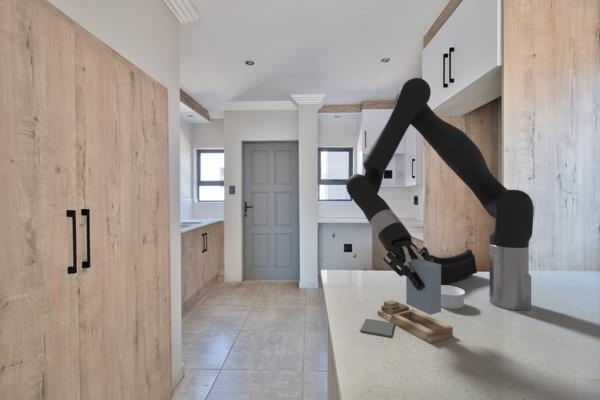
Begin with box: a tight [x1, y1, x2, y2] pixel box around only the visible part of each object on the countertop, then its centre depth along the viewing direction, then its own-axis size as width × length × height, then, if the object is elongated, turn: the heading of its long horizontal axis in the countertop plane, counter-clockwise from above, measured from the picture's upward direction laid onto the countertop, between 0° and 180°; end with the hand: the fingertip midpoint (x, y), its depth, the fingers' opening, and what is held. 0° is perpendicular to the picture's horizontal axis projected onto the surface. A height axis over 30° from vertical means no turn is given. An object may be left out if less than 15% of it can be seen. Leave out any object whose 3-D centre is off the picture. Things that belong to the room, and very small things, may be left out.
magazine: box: [429, 248, 478, 285], centre depth 107 cm, size 17×3×30 cm
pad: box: [359, 318, 395, 338], centre depth 71 cm, size 7×7×1 cm
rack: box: [377, 299, 454, 344], centre depth 72 cm, size 17×7×4 cm, turn 26°
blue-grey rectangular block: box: [405, 259, 442, 316], centre depth 69 cm, size 7×4×11 cm, turn 26°
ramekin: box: [441, 284, 466, 310], centre depth 85 cm, size 9×9×4 cm
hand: (428, 287), depth 68 cm, fingers closed on blue-grey rectangular block, 3 cm apart
